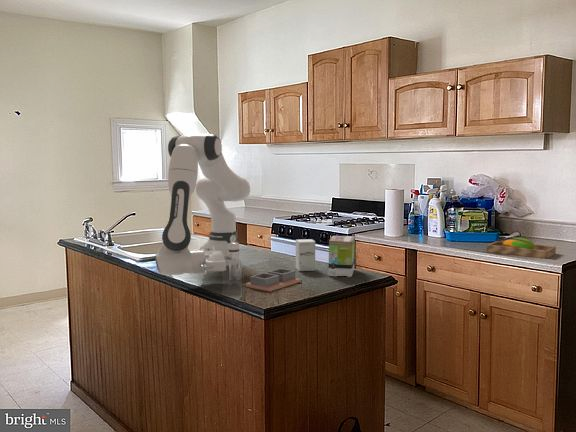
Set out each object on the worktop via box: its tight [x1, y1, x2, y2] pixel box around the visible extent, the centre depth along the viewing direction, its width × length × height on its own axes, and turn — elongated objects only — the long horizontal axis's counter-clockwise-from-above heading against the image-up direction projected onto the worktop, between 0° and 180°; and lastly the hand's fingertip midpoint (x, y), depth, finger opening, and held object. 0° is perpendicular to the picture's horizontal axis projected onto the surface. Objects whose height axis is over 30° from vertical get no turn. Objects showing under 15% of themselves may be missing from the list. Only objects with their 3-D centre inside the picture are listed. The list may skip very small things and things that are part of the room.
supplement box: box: [295, 238, 316, 272], centre depth 230 cm, size 7×7×13 cm
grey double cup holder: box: [245, 267, 301, 292], centre depth 205 cm, size 12×18×4 cm, turn 141°
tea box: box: [327, 235, 356, 278], centre depth 223 cm, size 15×10×15 cm
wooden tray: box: [486, 240, 557, 259], centre depth 263 cm, size 28×15×4 cm, turn 51°
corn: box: [502, 237, 535, 249], centre depth 264 cm, size 7×8×20 cm
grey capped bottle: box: [228, 241, 241, 282], centre depth 205 cm, size 4×4×14 cm
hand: (236, 259), depth 205 cm, fingers closed on grey capped bottle, 4 cm apart
